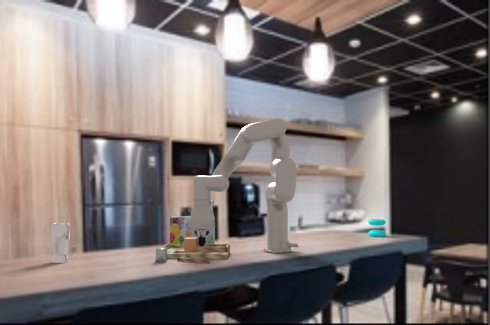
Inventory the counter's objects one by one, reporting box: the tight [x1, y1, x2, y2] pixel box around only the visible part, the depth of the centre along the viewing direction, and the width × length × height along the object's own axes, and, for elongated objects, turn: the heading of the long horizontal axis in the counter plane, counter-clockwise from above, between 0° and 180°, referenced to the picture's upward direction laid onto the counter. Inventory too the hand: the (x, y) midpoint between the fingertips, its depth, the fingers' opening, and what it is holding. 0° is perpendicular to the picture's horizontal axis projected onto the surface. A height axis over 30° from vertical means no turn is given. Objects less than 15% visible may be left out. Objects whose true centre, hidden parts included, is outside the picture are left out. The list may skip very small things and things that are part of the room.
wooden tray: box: [159, 242, 231, 260], centre depth 179 cm, size 28×16×4 cm, turn 86°
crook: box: [176, 256, 210, 265], centre depth 166 cm, size 14×5×2 cm, turn 62°
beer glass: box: [50, 222, 71, 265], centre depth 164 cm, size 7×7×15 cm
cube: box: [184, 237, 198, 251], centre depth 182 cm, size 5×5×5 cm
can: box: [155, 247, 168, 263], centre depth 166 cm, size 4×4×5 cm
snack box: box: [169, 215, 216, 248], centre depth 202 cm, size 21×6×15 cm, turn 84°
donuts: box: [367, 218, 387, 238], centre depth 248 cm, size 10×10×10 cm
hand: (201, 246), depth 182 cm, fingers closed
